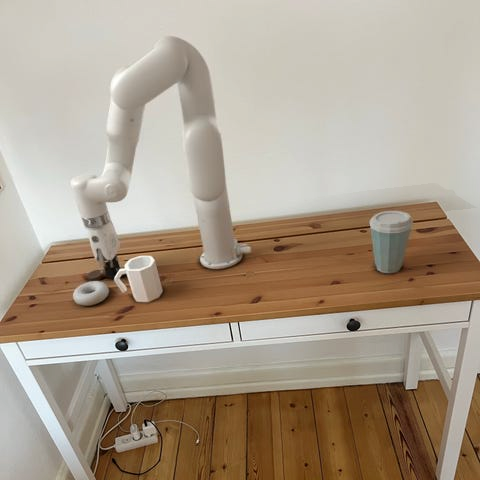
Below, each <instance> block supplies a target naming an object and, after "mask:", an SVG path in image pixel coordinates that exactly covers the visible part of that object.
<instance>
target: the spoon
mask: <svg viewBox="0 0 480 480" xmlns="http://www.w3.org/2000/svg"><path fill="white" fill-rule="evenodd" d="M124 268H125V267H124V266H122V267H121V266H120V268H116V271H117V273H118V271H119V270H120V269H124ZM123 276H127V274H122V275H121V277H123ZM86 277H87V280H88V282H91V281H101V280H102V279H103V278H107V275H106V272H105V269H104V268H102V269H95V270H92V271H90V272H88V273H87V275H86Z"/></svg>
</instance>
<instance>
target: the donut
mask: <svg viewBox="0 0 480 480" xmlns="http://www.w3.org/2000/svg"><path fill="white" fill-rule="evenodd" d="M109 292H110V290H109V286H108V285H107V284H106V283H105V282H103V281H101V280H98V281H87V282H84V283H82V284H81V285H78V286H77V287H76V288H75V289H74V291H73V294H72V298H73V301H74V302H75V304H77V305H79V306H81V307H82V306H83V307H88V306H94V305H97V304H99V303H101V302H103V301H105V299H106V298H107V297H108V296H109Z"/></svg>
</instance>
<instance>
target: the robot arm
mask: <svg viewBox="0 0 480 480" xmlns="http://www.w3.org/2000/svg"><path fill="white" fill-rule="evenodd" d="M176 84H177V88H178V95H179V102H180V106H181V107H180V108H181V114H182V148H183V153H184V154H183V155H184V161H185V167H186V175H187V182H188V188H189V190H190V192H191V194H192V197H193V202H194V208H195V213H196V219H197V225H198V229H199V234H200V239H201V244H202V249H203V252H202V254H201V255H200V257H199V261H200V264H201V266H203V267H205V268H208V269H210V270H220V269H227V268H230V267H233V266H235V265H237V264H238V263H240V261H241V260H242V258H243V254H244V255H245V254H252V247H251V246H248V245H249V244H248V243H243V244H240V243H238V239H235V233H234V232H235V231H234V226H233V220H232V214H231V207H230V199H229V194H228V186H227V180H226V179H227V178H226V167H225V159H224V149H223V148H224V147H223V140H222V134H221V129H220V125H219V122H218V117H217V110H216V101H215V96H214V88H213V81H212V77H211V73H210V69H209V66H208V64H207V62H206V60H205V58H204V56H202V54H201V52H200V51H199V49H197V48H196V47H195V46H194V45H193V44H192V43H190V42H189V41H187V40H185V39H183V38H180V37H178V36H172V35H167V36H164V37H161V38H159V40H157V42H155V44H154V46H153V48H152V50H150V51H149V52H148V53H146V54H145V55H144V56H143V57H141V58H140V59H138V60H137V61H136V62H134V63H133V64H131V65H124V66H122V67H120V68H118V69H117V71H116V72H115V73H114V75H113V77H112V79H111V81H110V84H109V85H110V86H109V93H110V102H109V108H108V115H107V120H106V126H105V129H106V130H105V133H106V136H107V149H106V156H105V162H104V167H103V171H102V174H101V175H100V176H97V175H96V174H95V173H91V172H88V173H87V172H86V173H85V172H84V173H80V174H78V175H76V176H74V177H73V178H72V179H71V180H70V187H71V191H72V194H73V197H74V200H75V203H76V206H77V209H78V211H79V214H80V218H81V221H82V223H83V227H84V228H85V230H86V232H87V235H88V241H89V244H90V248H91V251H92V253H93V257H94V259H95V261H96V262H98V264H99V267H100V268H102V269H105V272H106V275H107V277H106V278H107V279H108V280H114V278H115V276H116V274H117V271H116V268H121V266H120V263H119V257H118V255H117V254H118V251H119V249H120V247H121V242H120V240H119V237H118V233H117V231H116V228H115V226H114V223H113V222H112V218H111V215H110V212H109V209H108V205H107V203H119V202H122V201H123V200H124V199H125V198H126V197H127V195H128V192H129V188H130V184H131V179H132V174H133V173H132V172H133V168H134V163H135V156H136V151H137V148H138V147H137V146H138V144H139V142H140V137H141V132H142V127H143V126H142V125H143V120H144V115H145V114H144V113H145V110H146V105H147V104H148V103H150V102H151V101H153V100H154V99H156V98H157V97H159V96H160V95H161V94H163V93H165V92H166V91H168V90H169V89H170V88H172V87H174V86H175V85H176Z"/></svg>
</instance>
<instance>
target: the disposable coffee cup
mask: <svg viewBox="0 0 480 480" xmlns="http://www.w3.org/2000/svg"><path fill="white" fill-rule="evenodd" d="M413 220H414V219H413V218H412V216H411V215H410V213H408V212H404V211H399V210H387V211H380V212H378V213H375V214H374V215H372V217H371V218H370V220H369V226H370V233H371V242H372V249H373V258H374V265H375V268H376V269H377V271H379V272H380V273H384V274H394V273H397V272H399V271H400V270H401V267H402V266H403V263H404V258H405V255H406V251H407V246H408V241H409V237H410V235H411V230H412V227H413V226H414V221H413Z"/></svg>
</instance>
